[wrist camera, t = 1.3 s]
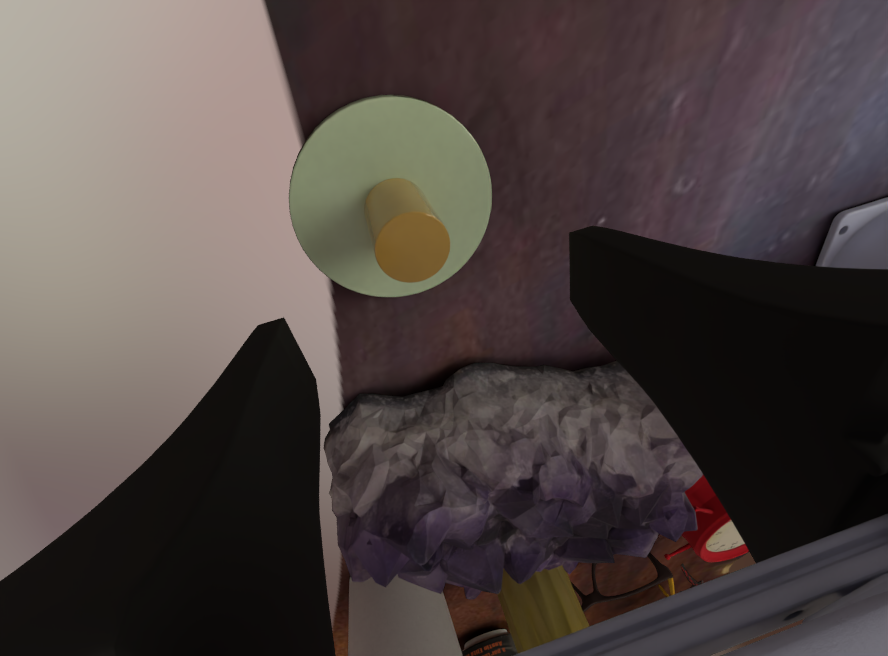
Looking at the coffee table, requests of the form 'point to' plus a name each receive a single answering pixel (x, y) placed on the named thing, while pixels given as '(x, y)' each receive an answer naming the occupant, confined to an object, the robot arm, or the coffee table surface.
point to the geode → (505, 477)
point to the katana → (691, 578)
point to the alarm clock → (711, 527)
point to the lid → (390, 196)
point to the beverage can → (491, 644)
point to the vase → (541, 608)
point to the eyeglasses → (597, 597)
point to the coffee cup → (399, 621)
